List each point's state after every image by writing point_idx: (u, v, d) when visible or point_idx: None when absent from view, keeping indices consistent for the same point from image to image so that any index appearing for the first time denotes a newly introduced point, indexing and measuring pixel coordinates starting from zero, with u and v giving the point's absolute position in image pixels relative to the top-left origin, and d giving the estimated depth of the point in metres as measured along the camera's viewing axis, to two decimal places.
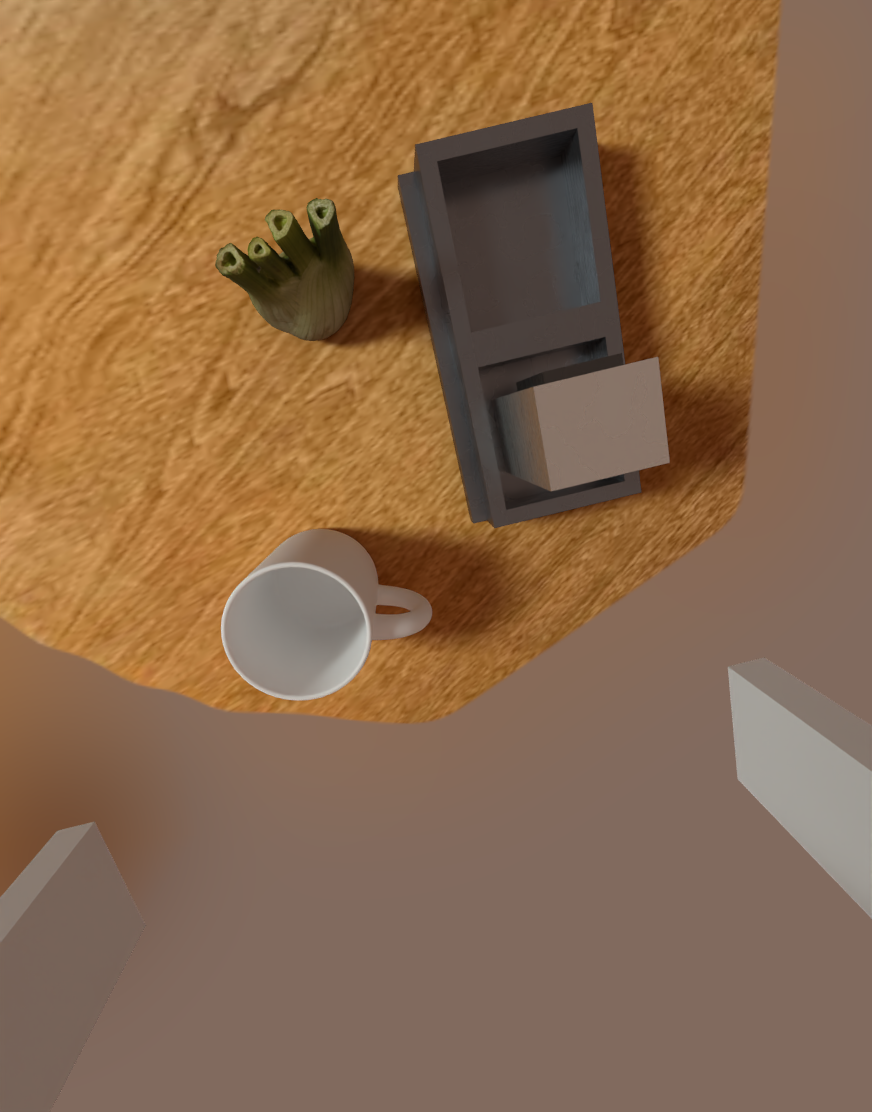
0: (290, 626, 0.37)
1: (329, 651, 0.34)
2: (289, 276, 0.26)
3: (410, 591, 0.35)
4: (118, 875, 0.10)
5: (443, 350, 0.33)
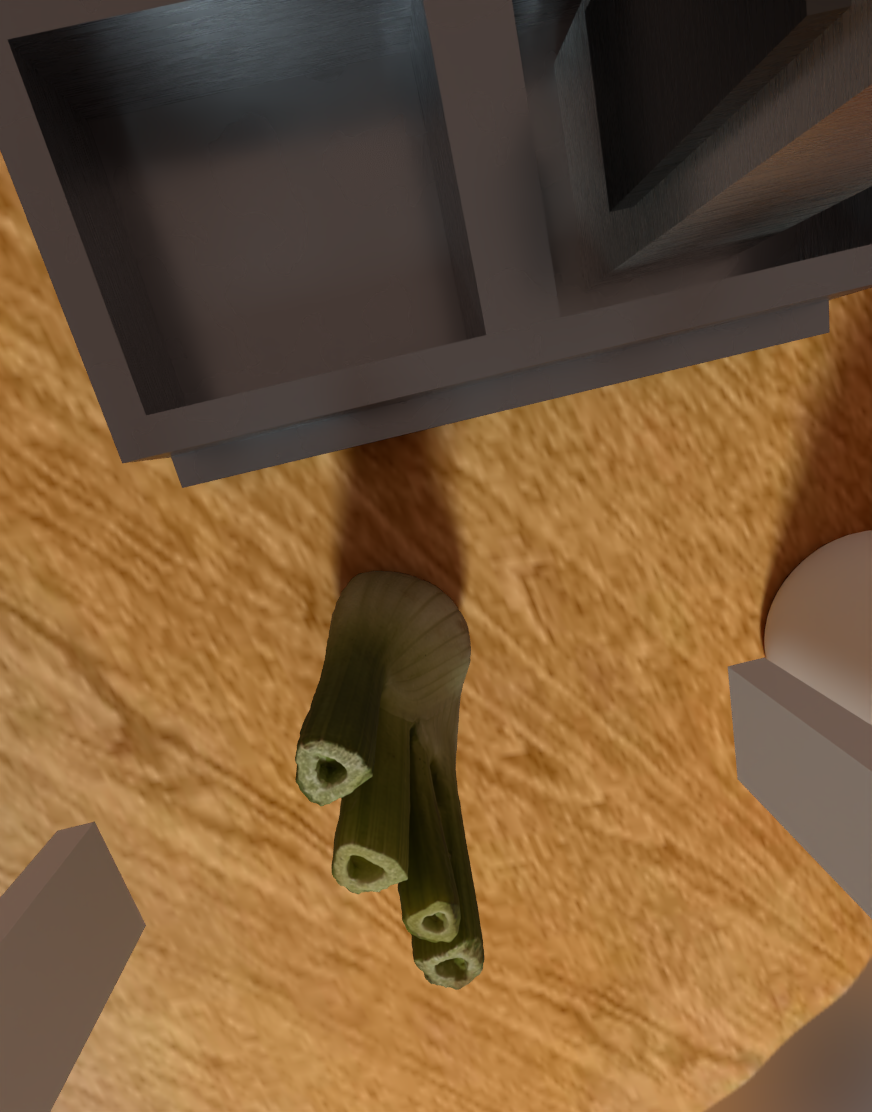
0: None
1: None
2: (423, 753, 0.12)
3: None
4: (118, 875, 0.10)
5: (485, 398, 0.16)
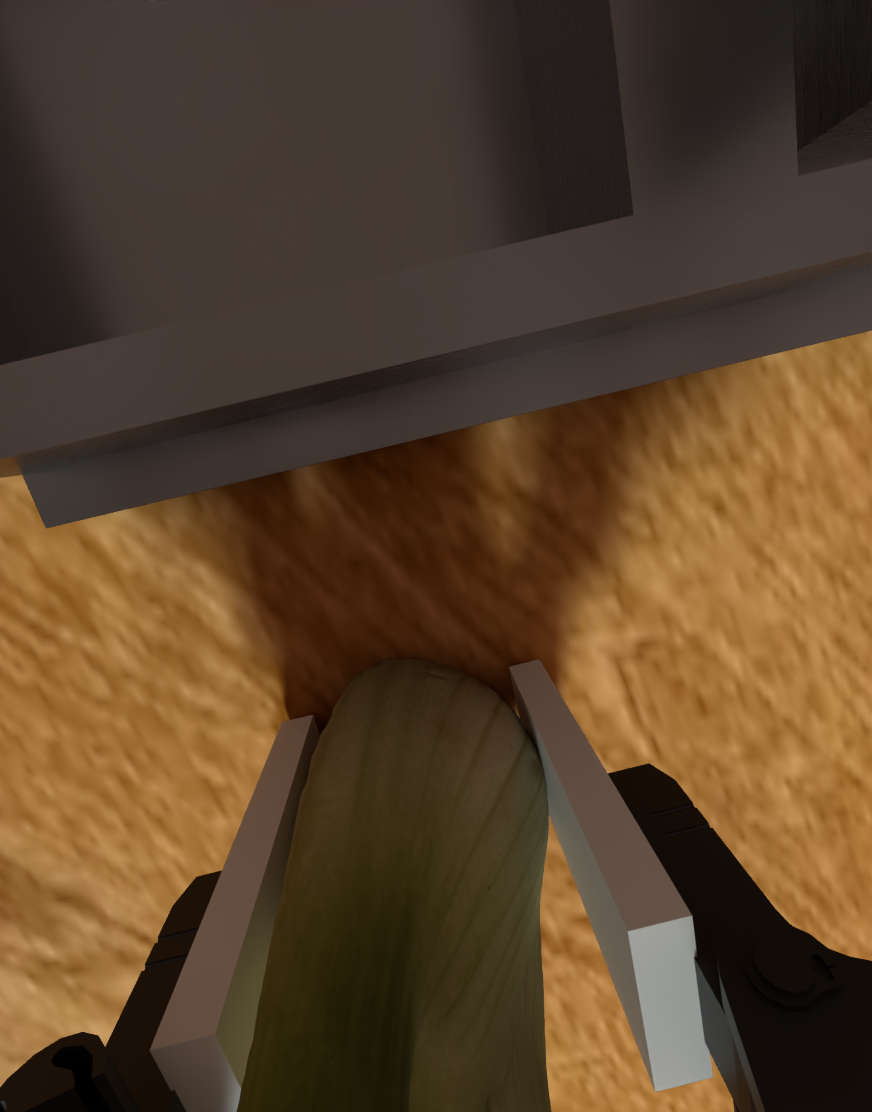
0: None
1: None
2: None
3: None
4: None
5: (582, 370, 0.09)
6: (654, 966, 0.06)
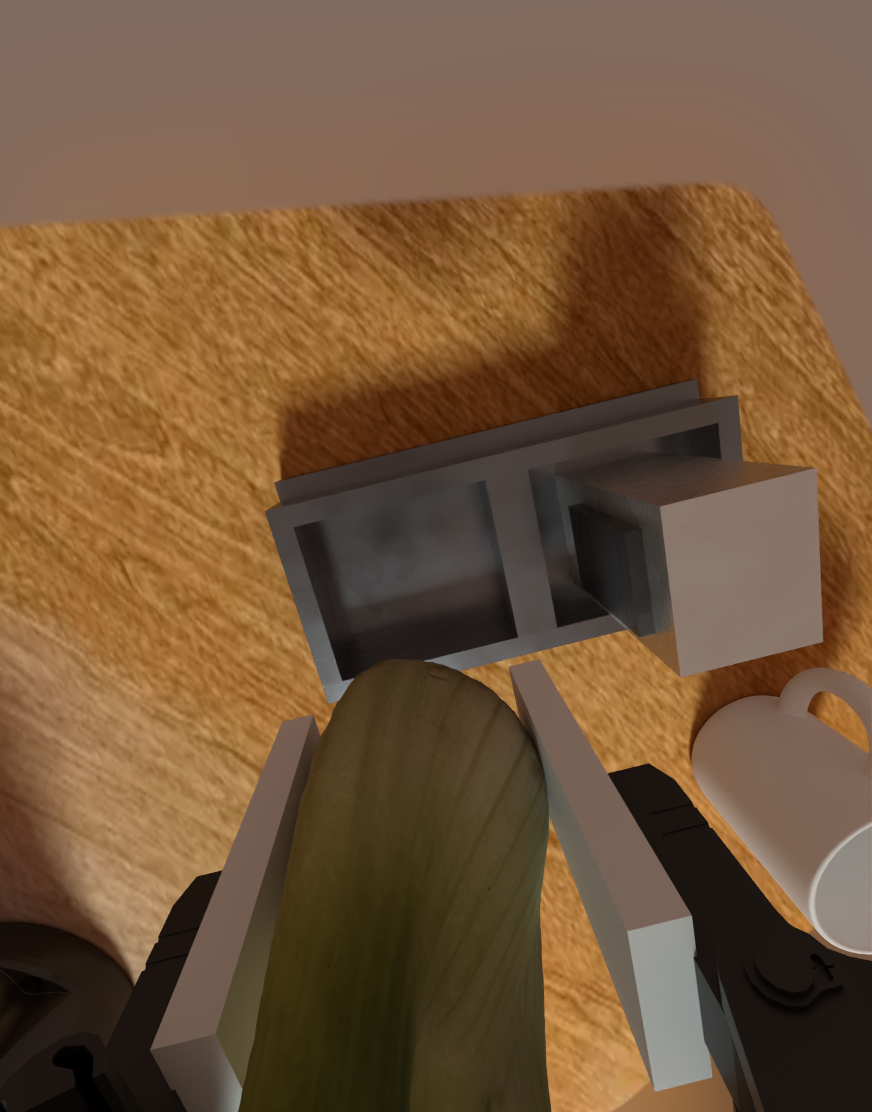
0: None
1: None
2: None
3: (801, 681, 0.28)
4: None
5: None
6: (653, 966, 0.06)
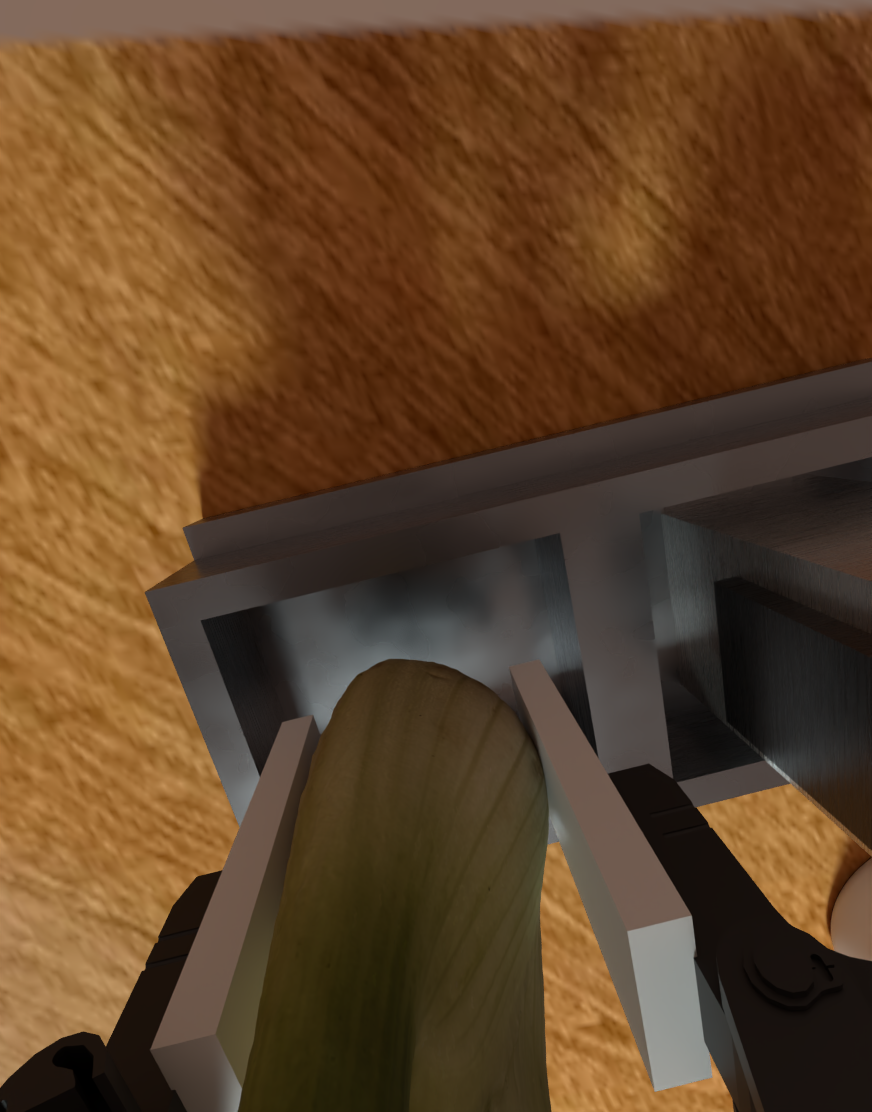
0: None
1: None
2: None
3: None
4: None
5: None
6: (653, 966, 0.06)
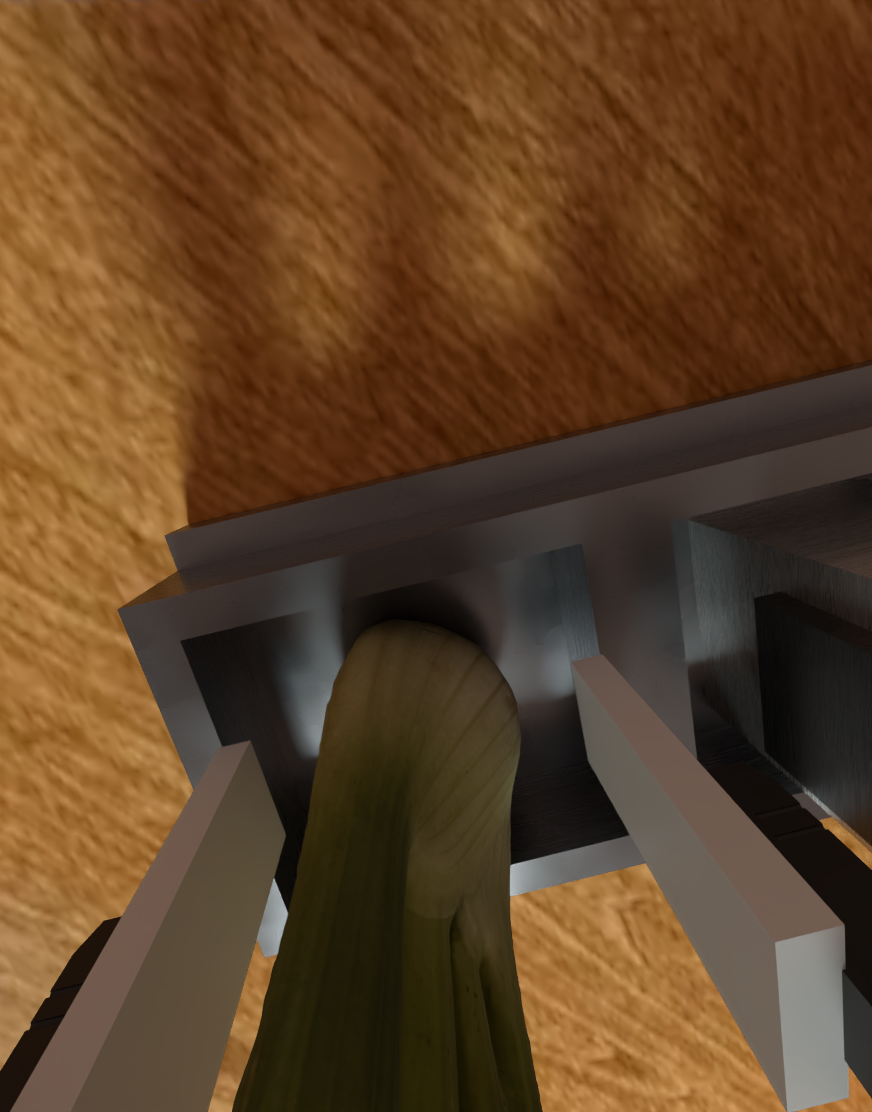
0: None
1: None
2: (472, 969, 0.07)
3: None
4: (266, 788, 0.12)
5: None
6: (799, 980, 0.05)
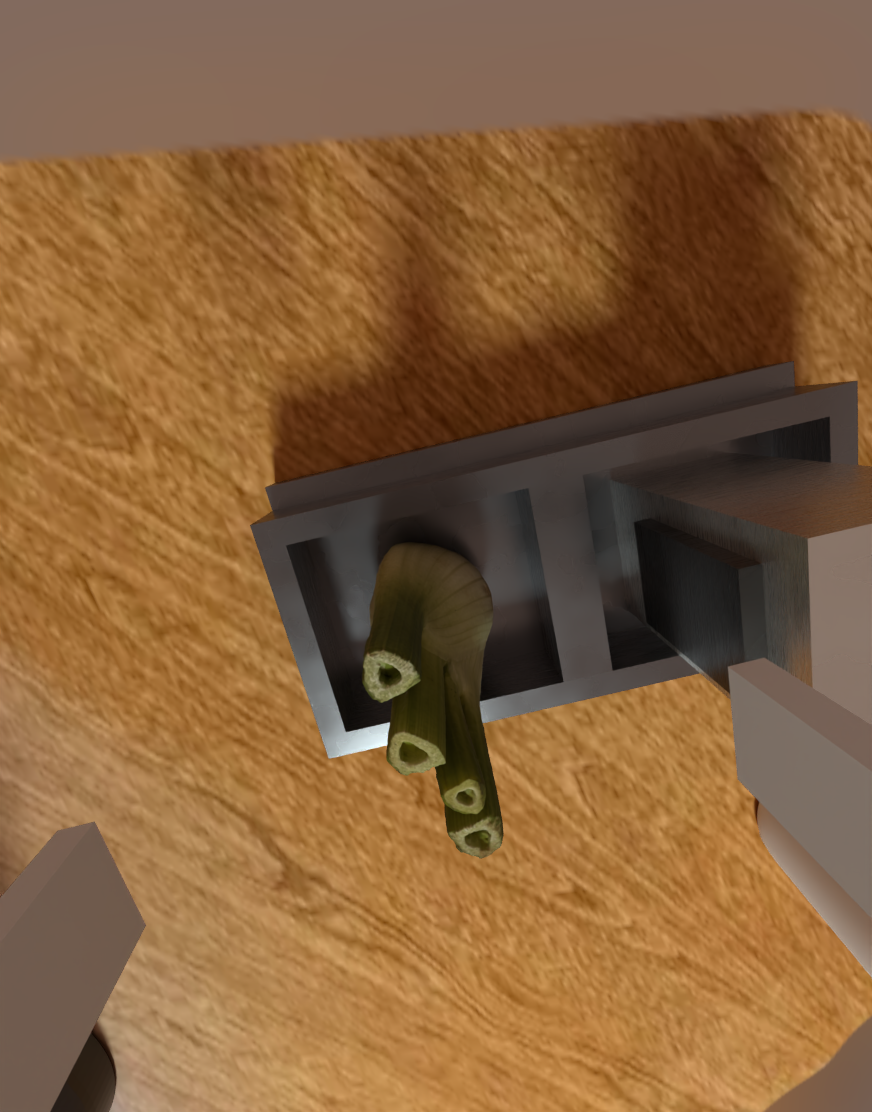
0: None
1: None
2: (454, 686, 0.14)
3: None
4: (118, 875, 0.10)
5: None
6: None
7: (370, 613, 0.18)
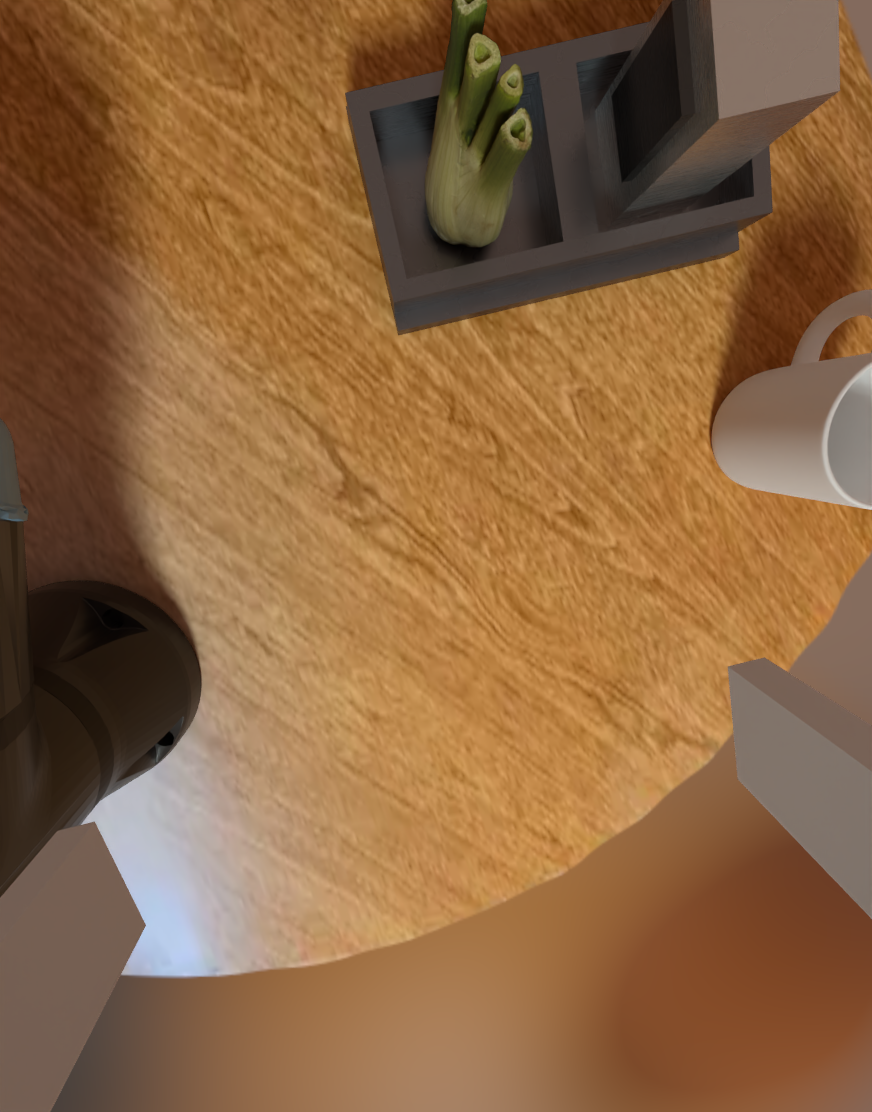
0: None
1: (871, 417, 0.32)
2: None
3: (813, 324, 0.31)
4: (118, 875, 0.10)
5: (555, 284, 0.31)
6: None
7: (428, 162, 0.26)
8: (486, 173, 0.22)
